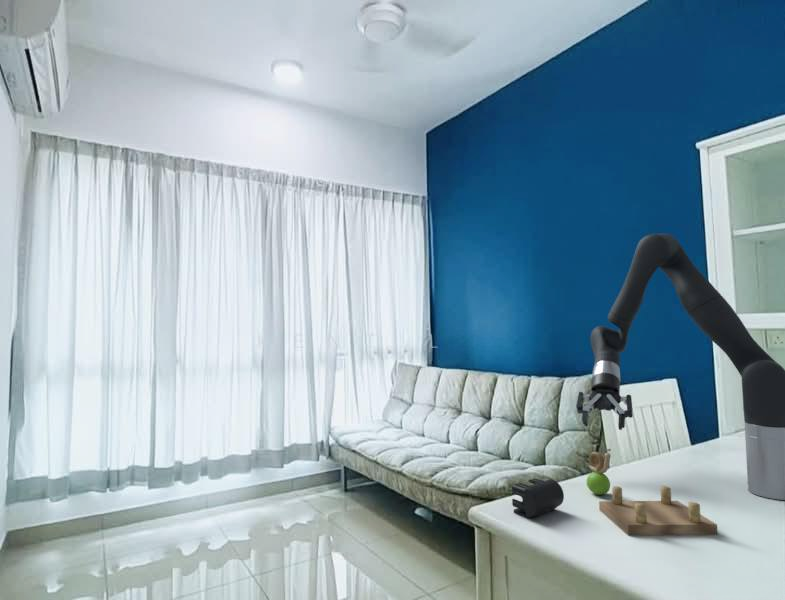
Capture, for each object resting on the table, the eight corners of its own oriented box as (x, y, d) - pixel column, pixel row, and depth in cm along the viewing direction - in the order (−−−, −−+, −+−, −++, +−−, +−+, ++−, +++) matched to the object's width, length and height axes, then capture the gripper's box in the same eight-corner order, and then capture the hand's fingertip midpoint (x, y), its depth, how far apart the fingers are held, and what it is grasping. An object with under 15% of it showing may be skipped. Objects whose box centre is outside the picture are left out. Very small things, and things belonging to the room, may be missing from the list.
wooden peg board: (678, 509, 107) (676, 485, 107) (717, 534, 94) (716, 506, 94) (599, 510, 107) (598, 485, 107) (628, 535, 94) (626, 507, 94)
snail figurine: (604, 500, 112) (602, 450, 113) (582, 492, 118) (580, 444, 119) (619, 497, 115) (617, 447, 116) (596, 489, 121) (595, 442, 121)
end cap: (537, 523, 100) (536, 491, 100) (511, 513, 105) (510, 482, 106) (564, 512, 106) (564, 482, 106) (538, 503, 111) (537, 474, 112)
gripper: (578, 370, 139) (573, 415, 128) (632, 372, 132) (631, 420, 121) (581, 386, 143) (576, 431, 132) (633, 389, 136) (633, 437, 125)
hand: (602, 426), depth 127 cm, fingers open, 8 cm apart
